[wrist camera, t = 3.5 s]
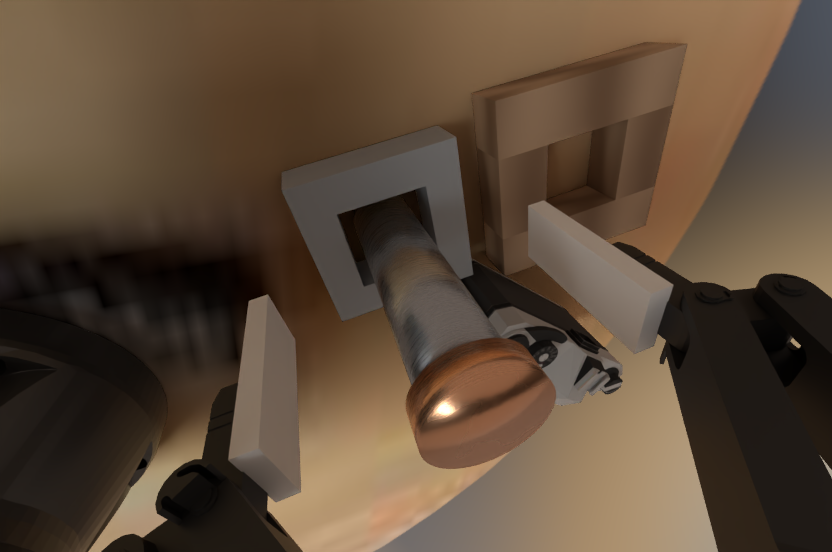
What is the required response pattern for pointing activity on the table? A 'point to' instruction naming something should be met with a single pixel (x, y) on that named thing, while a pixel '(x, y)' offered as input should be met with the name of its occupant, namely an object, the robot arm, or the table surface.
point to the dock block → (567, 117)
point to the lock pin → (449, 347)
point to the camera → (545, 335)
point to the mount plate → (371, 182)
